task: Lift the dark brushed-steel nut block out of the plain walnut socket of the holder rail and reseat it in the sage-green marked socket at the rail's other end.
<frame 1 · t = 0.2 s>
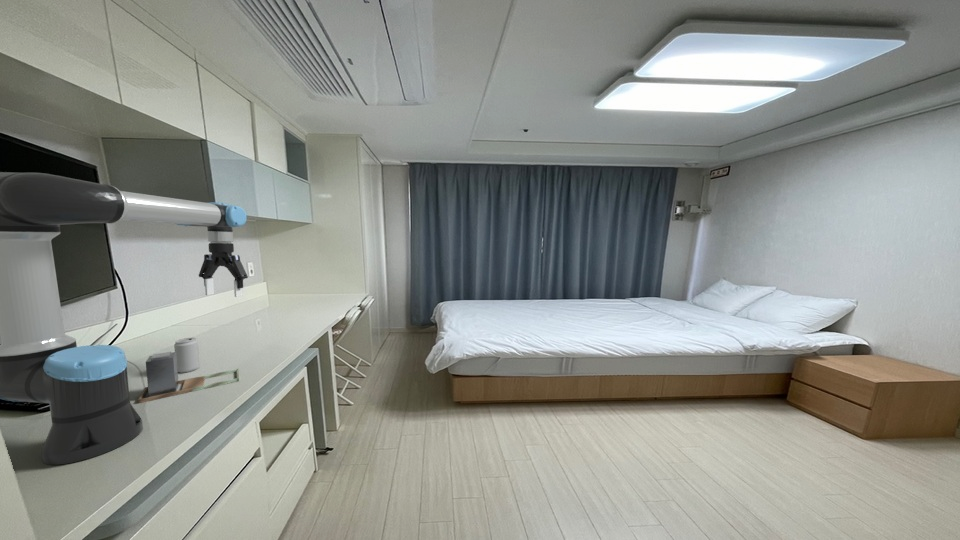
hand: (224, 295, 120), 28 cm above the table, fingers open, 13 cm apart
beverage can: (188, 370, 114), on the table
nut block: (164, 391, 98), resting in holder rail
holder rail: (193, 385, 102), on the table
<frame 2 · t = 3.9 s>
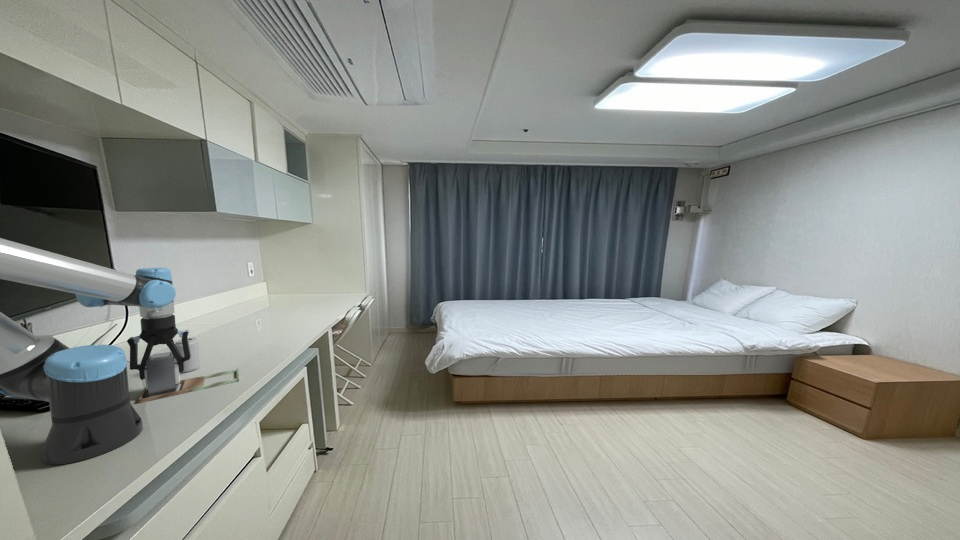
hand: (163, 384, 98), 2 cm above the table, fingers closed on nut block, 6 cm apart
nut block: (164, 391, 98), resting in holder rail, touching gripper
everything else where it was.
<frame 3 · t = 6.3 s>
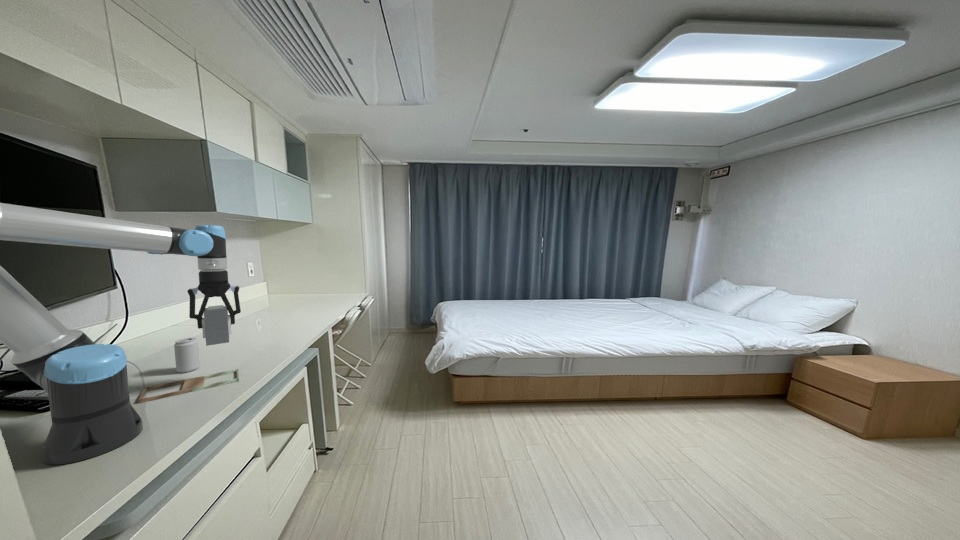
hand: (217, 335, 105), 17 cm above the table, fingers closed on nut block, 6 cm apart
nut block: (218, 341, 105), point 14 cm above the table, touching gripper
everything else where it was.
when the fingers open (3 cm above the table, at t = 8.9 s): nut block stays where it is, resting in holder rail.
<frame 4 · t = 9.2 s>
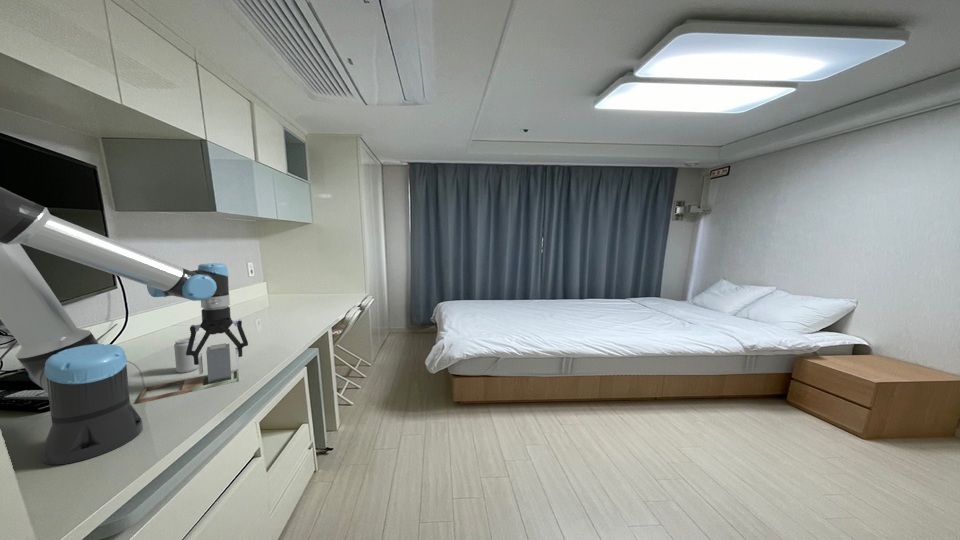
hand: (220, 369, 106), 4 cm above the table, fingers open, 9 cm apart
nut block: (220, 380, 107), resting in holder rail
everything else where it was.
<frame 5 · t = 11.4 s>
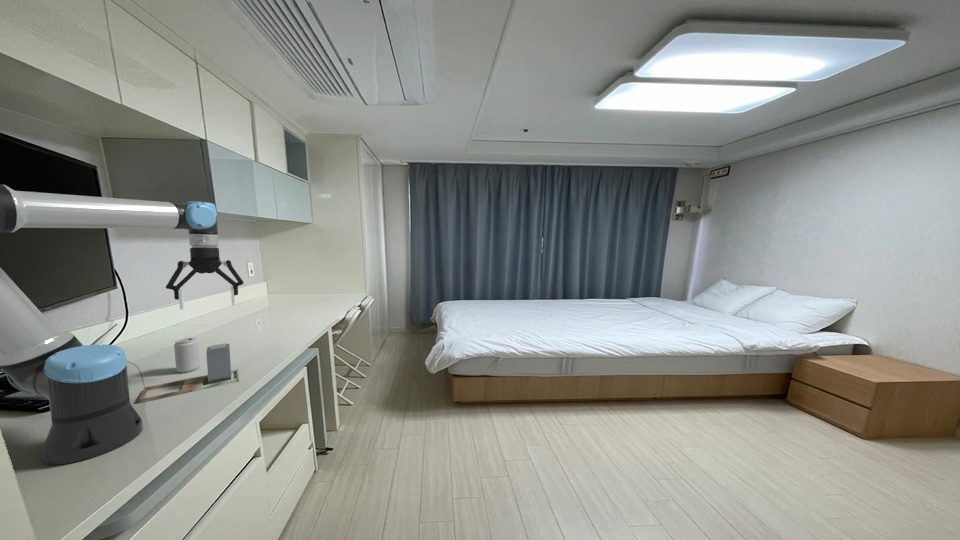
hand: (208, 306, 107), 26 cm above the table, fingers open, 13 cm apart
nothing on the table moved.
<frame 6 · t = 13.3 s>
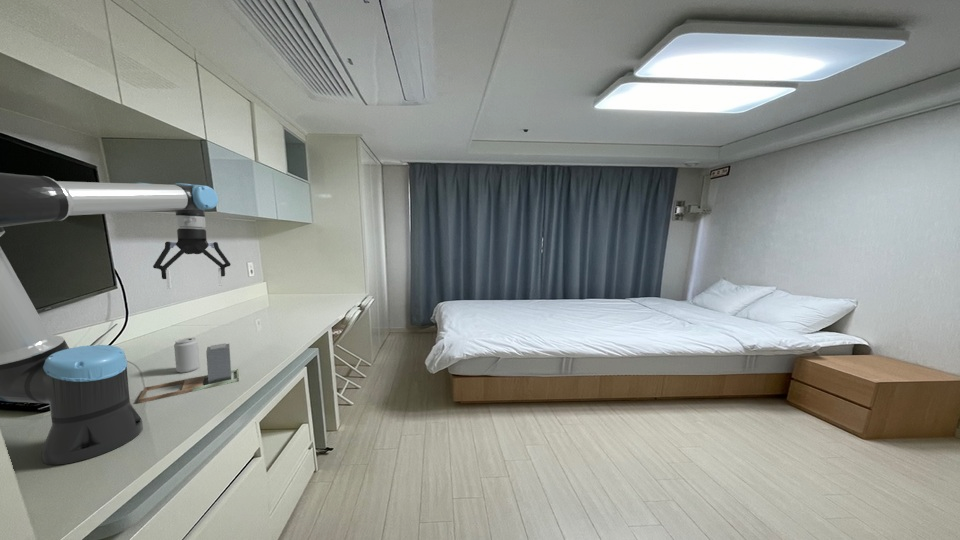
hand: (195, 286, 109), 33 cm above the table, fingers open, 13 cm apart
nothing on the table moved.
at the end: nut block 0.1 cm from the target spot on the holder rail, point 0.0 cm above the holder rail's base; nut block tilted 0°; the gripper is holding nothing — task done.
